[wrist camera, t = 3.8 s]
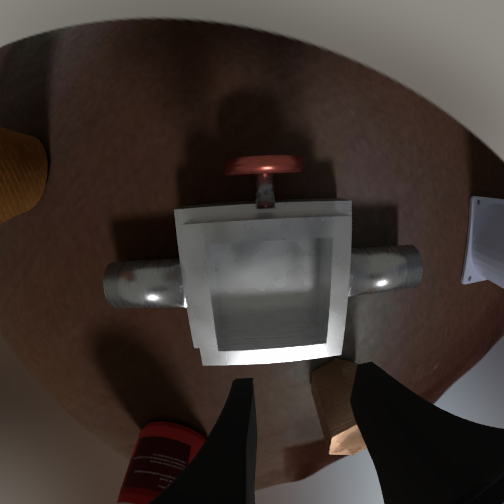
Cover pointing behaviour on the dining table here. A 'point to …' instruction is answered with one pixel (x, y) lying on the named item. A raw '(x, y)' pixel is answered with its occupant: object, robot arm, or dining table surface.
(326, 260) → the valve body
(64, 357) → the dining table surface
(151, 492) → the canned food
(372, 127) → the dining table surface
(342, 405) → the wooden hexagonal prism
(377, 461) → the robot arm
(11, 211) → the disposable coffee cup
